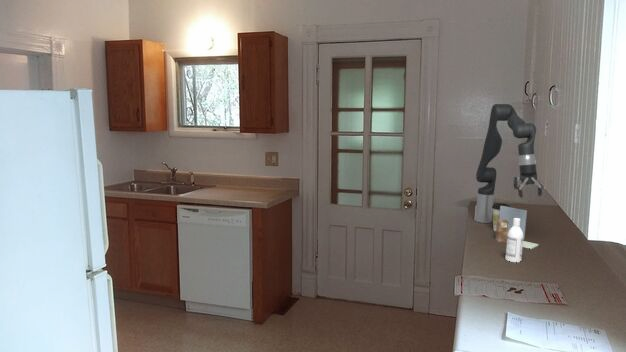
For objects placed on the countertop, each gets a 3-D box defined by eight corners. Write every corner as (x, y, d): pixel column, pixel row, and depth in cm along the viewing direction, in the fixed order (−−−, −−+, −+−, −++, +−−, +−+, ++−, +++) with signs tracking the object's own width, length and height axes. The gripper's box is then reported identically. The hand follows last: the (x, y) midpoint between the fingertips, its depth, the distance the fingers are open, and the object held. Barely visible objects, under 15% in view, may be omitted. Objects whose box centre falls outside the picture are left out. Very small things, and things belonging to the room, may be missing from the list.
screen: (496, 235, 274) (498, 206, 272) (501, 233, 279) (503, 205, 276) (521, 240, 265) (524, 211, 262) (526, 238, 269) (528, 209, 266)
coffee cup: (488, 231, 281) (490, 205, 279) (491, 227, 290) (493, 202, 288) (507, 234, 277) (509, 207, 274) (509, 230, 286) (511, 204, 283)
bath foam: (516, 257, 236) (520, 216, 233) (524, 262, 230) (528, 220, 226) (502, 258, 236) (506, 216, 232) (509, 263, 229) (513, 220, 226)
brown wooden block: (498, 242, 261) (500, 221, 259) (495, 239, 266) (496, 219, 264) (506, 242, 261) (508, 222, 259) (503, 239, 266) (505, 219, 264)
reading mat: (513, 244, 257) (513, 243, 257) (521, 241, 263) (521, 240, 263) (531, 249, 251) (531, 247, 251) (538, 245, 257) (538, 244, 257)
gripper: (540, 162, 249) (543, 195, 248) (510, 165, 251) (513, 197, 251) (545, 162, 241) (548, 195, 241) (514, 165, 243) (517, 198, 243)
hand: (530, 196), depth 246 cm, fingers open, 8 cm apart
